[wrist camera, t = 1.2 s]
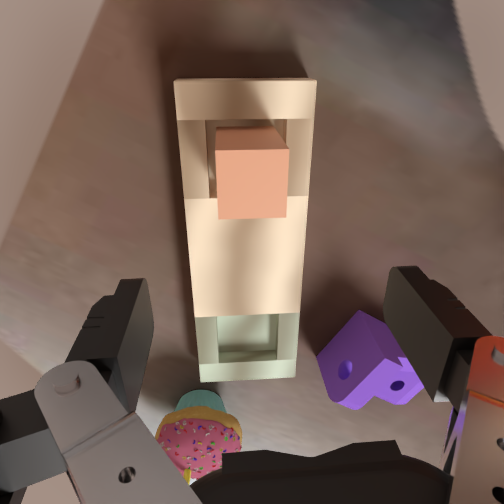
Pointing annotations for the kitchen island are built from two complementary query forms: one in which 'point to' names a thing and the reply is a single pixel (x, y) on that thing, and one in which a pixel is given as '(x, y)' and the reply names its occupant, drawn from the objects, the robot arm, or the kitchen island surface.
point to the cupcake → (199, 434)
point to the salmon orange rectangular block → (251, 172)
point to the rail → (245, 228)
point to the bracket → (366, 365)
